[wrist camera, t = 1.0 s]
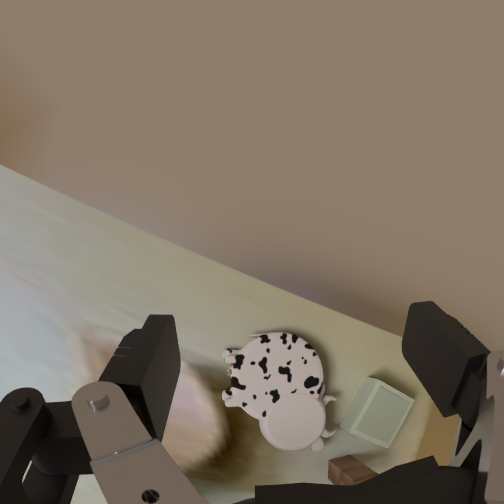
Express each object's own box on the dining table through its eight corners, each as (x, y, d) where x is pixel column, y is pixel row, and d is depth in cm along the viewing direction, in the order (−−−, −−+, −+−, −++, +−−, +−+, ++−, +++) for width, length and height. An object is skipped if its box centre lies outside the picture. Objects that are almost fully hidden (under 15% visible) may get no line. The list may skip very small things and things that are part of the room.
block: (348, 472, 50) (376, 494, 39) (328, 478, 49) (354, 502, 38) (349, 454, 51) (378, 474, 40) (328, 460, 50) (355, 482, 39)
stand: (377, 443, 52) (388, 449, 48) (338, 426, 52) (349, 432, 48) (402, 397, 55) (415, 400, 51) (366, 376, 55) (378, 379, 51)
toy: (220, 453, 47) (330, 446, 49) (222, 460, 42) (340, 452, 45) (222, 332, 54) (330, 334, 57) (223, 329, 50) (340, 330, 53)
